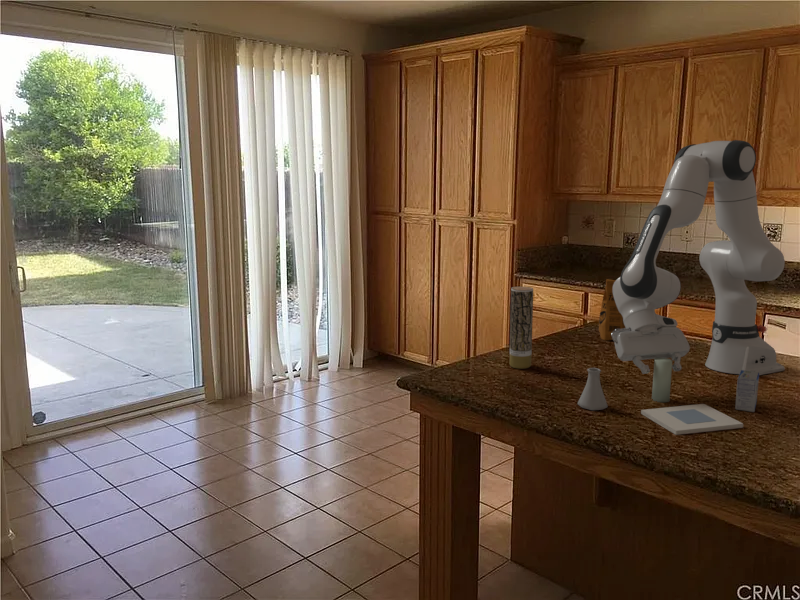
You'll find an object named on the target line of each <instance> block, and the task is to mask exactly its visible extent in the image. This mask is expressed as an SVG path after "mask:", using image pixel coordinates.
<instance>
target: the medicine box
mask: <svg viewBox="0 0 800 600" xmlns="http://www.w3.org/2000/svg"><path fill="white" fill-rule="evenodd" d="M759 379H760V375H759V372H754V371H746V370H741V372H740V374H738V377H737V381H736V394H735V395H736V396H735V404H734V405H735V407H734V408H735V410H738V411H743V412H750V413H755V411H756V407H757V404H758V403H757V402H758V392H759V391H758V390H759Z"/></svg>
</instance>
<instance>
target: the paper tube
mask: <svg viewBox="0 0 800 600" xmlns="http://www.w3.org/2000/svg"><path fill="white" fill-rule="evenodd" d="M533 313H534V288H533V287H530V286H512V287H511V288H510V317H509V318H510V319H509V321H510V322H509V324H510V325H509V366H510V367H511V368H513V369H518V370H519V369H521V370H524V369H529V368H530V367H531V366H532V352H533V351H532V348H533V347H532V346H533V319H534V318H533Z"/></svg>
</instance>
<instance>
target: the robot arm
mask: <svg viewBox="0 0 800 600" xmlns="http://www.w3.org/2000/svg"><path fill="white" fill-rule="evenodd" d="M756 161H757V153H756V151H755V148H754V146H752V145H751V144H750V142H748V141H745V140H739V139H734V140H713V141H712V140H711V141H709V142H702V143H698V144H697V143H696V144H695V143H691V144H689V145H686V146H683V147H682V148H681V149H679V150H678V152H677V154H676V155H675V158H674V161H673V165H672V167H671V168H670V172H669V174H668V175H667V178H666V179H665V183H664V187H663V190H662V192H661V193H662V194H661V196H660V199H659V201H658V204H657V205H656V206H655V207H654V208H653V209H651V211H650V212H649V214H648V216H647V218H646V220H645V222H644V224H643V227H642V229H641V232H640V234H639V236H638V239H637V242H636V244H635V247H634V249H633V251H632V254H631V256H630V258H629V260H628V261H627V262H626V264H625V265H624V267H623V269H622V271H621V274H620V276H619V277H618V278H617V279H615V280H616V281H615V282H614V284H613V296H614V300H615V303H616V306H617V308H618V311H619V312H620V314H621V315H622V317H623V322H624V325H625V328H623V329H615V330H614V331H613V332H612V334H611V336H612V339H613V340H612V341H613V343H614V348H615V351H616V354H617V355H616V356H617V358H618V359H619V360H620V361H622V362H629V361H632V363H633V364H634V365H635V366H636V367H637V368H638V369H640V371H641V374H642V375H643V374H649V373H650V372H651V369H650V366H649V364H645V363H644V362H643V361H642V360H654V359H655V358H668V359H671V360H672V361H674V363H673V364H672V370H673V372H680V371H682V369H683V368H682V365H681V359H682V357H685V356H686V355H687V354H688V353H689V352H690V348H691V347H690V344H689V342H688V339H687V338H686V336H685V333H684V332H683V331H682V330H681V328H679V327H677V326H678V322H677V319H675V318H672V317H667V316H663V315H660V314H657V313H656V311H655V310H658V309H661V308H663V307H665V306H668V305H670V304H672V303H674V302H675V301H676V300H677V299H678V297H679V295H680V293H681V290H682V285H681V280H680V278H679V277H678V276H677V275H676V274H675V273H673V272H671V271H668V270H666V269H664V268H661V267H658V266H657V263H656V261H657V257H658V255H659V252H660V250H661V248H662V244H663V242H664V240H665V237H666V236H667V234H668V233H669V232H670V231H673V229H680V228H685V227H687V226H690V225H691V224H693V223H694V222H696V221H697V220H698V219H699V217H700V216H701V213H702V211H703V208H704V205H705V201H706V197H707V193H708V188H709V183H711V182H713V202H714V213H715V223H716V225H717V227H718V228H719V230H721V232H724V234H725V235H726V236H727V237H728V239H729V240H726V239H725V240H715V241H710V242H708V243H706V244H705V245H704V246H703V247H702V249H701V251H700V252H699V253H700V254H699V264H700V266H701V268H702V269H703V270H704V271H705V273H706V274H707V275H708V277H709V279H710V281H711V284H712V287H713V290H714V295H715V296H714V297H715V307H714V310H715V311H714V320H713V321H712V327H711V329H712V330H711V334H712V335H711V336H712V339H711V344H710V349H709V353H708V356H707V358H706V361H705V364H704V365H705V367H706V368H708V369H710V370H713V371H716V372H721V373H726V374H731V375H733V374H734V375H739V374H740V372H741V370H746V371H754V372H759V376H762V375H768V374H772V373H778V372H784V371H785V369H786V368H785V366H784V365H783V364H781V363H779V362H777V352H776V350H775V348H774V346H773V347H772V346H771V344H769V343H768V342H766V341H765V340H764V339H763V338H762V337H761V336H760V333H763V334H765V333H766V332H767V330H768V327H766V325H764V326H763V325H759V324H756V317H757V316H756V315H757V308H758V306H757V305H758V300H757V298H756V296H755V295H754V294H753V293H752V292H751V291H750V290H749V288H748V287H747V284H746V282H745V281H751V282H770V281H775V280H776V279H778V277H780V276H781V274H782V273H783V271H784V268H785V265H786V263H785V261H786V260H785V257H784V254H783V252H782V251H781V250H780V249H779V248H778V247H776V246H775V245H774V244H773V243H772V241H771V240H770V239H769V237H768V236H767V235H766V233H765V231H764V229H763V227H762V224H761V220H760V215H759V207H758V197H757V187H756V181H755V176H754V171H753V170H754V168H755V167H756ZM759 332H760V333H759Z"/></svg>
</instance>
